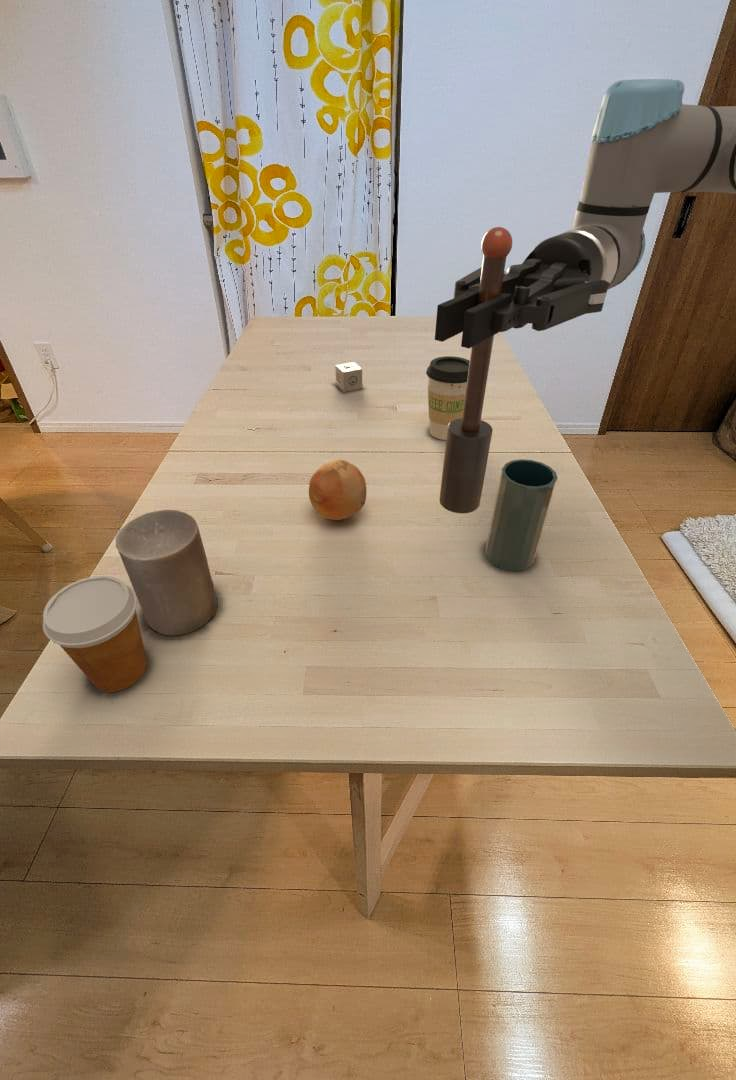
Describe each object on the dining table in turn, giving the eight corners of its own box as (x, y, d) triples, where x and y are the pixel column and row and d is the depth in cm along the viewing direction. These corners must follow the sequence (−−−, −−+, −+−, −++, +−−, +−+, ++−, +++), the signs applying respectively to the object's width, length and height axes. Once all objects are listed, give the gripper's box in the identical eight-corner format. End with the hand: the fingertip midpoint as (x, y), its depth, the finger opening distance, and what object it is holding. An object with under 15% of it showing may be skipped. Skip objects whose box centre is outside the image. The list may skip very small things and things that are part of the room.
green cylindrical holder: (543, 558, 80) (568, 475, 71) (512, 578, 77) (533, 494, 67) (506, 534, 85) (525, 453, 75) (475, 552, 81) (490, 470, 72)
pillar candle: (220, 582, 76) (200, 497, 66) (215, 633, 68) (191, 546, 59) (151, 588, 75) (120, 503, 65) (138, 641, 67) (101, 554, 58)
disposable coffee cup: (125, 629, 69) (96, 562, 61) (176, 659, 65) (152, 592, 57) (60, 681, 62) (18, 614, 55) (113, 718, 59) (75, 651, 51)
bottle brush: (487, 506, 56) (540, 229, 40) (455, 518, 55) (495, 234, 38) (463, 486, 59) (502, 220, 43) (431, 497, 58) (459, 224, 41)
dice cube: (336, 384, 131) (335, 365, 128) (354, 381, 132) (353, 362, 129) (343, 392, 127) (343, 372, 124) (362, 388, 129) (362, 369, 126)
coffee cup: (422, 443, 108) (428, 373, 98) (420, 421, 115) (425, 354, 106) (469, 444, 108) (480, 374, 98) (464, 422, 115) (473, 355, 106)
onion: (320, 494, 93) (317, 444, 87) (373, 502, 91) (374, 452, 85) (301, 525, 86) (296, 474, 80) (358, 535, 84) (358, 484, 78)
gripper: (627, 322, 54) (531, 396, 40) (498, 297, 61) (377, 353, 47) (653, 240, 49) (554, 291, 35) (510, 223, 56) (379, 260, 42)
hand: (453, 326), depth 41 cm, fingers closed on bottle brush, 2 cm apart
